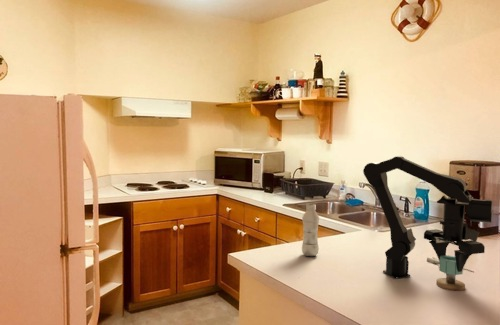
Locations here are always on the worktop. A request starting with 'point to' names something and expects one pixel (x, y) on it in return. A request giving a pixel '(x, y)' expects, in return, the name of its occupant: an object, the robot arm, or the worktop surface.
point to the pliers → (436, 260)
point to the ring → (449, 265)
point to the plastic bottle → (310, 231)
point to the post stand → (450, 283)
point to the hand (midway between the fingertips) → (450, 267)
